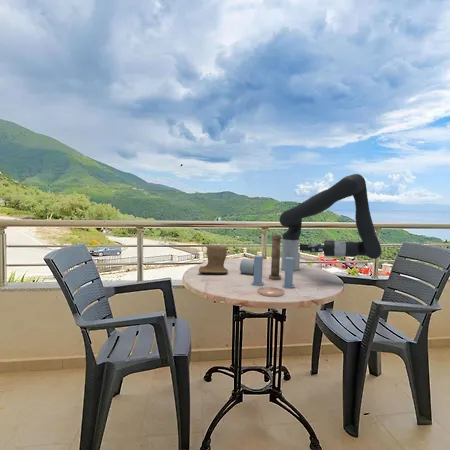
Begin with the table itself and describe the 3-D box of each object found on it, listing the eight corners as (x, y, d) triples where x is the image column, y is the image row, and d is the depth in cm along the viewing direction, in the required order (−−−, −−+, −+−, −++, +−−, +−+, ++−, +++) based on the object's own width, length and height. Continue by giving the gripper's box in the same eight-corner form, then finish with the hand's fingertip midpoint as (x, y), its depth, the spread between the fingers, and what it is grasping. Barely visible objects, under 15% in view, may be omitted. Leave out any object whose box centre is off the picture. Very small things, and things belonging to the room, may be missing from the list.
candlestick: (276, 276, 165) (277, 233, 163) (283, 279, 160) (284, 235, 158) (266, 277, 162) (268, 234, 161) (273, 280, 157) (275, 235, 156)
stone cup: (227, 270, 177) (227, 243, 176) (228, 275, 165) (229, 246, 164) (199, 270, 177) (199, 242, 176) (198, 275, 165) (199, 245, 164)
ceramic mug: (254, 276, 166) (254, 261, 165) (239, 274, 169) (239, 259, 169) (260, 272, 176) (261, 258, 175) (246, 270, 179) (246, 256, 178)
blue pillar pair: (294, 285, 149) (295, 257, 148) (294, 288, 144) (295, 259, 143) (253, 282, 153) (253, 254, 152) (251, 284, 148) (252, 256, 147)
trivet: (273, 288, 143) (273, 285, 143) (289, 294, 134) (289, 292, 133) (252, 290, 138) (252, 288, 138) (267, 297, 129) (267, 295, 128)
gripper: (333, 239, 160) (299, 238, 164) (336, 242, 147) (299, 240, 150) (332, 254, 161) (299, 252, 164) (336, 258, 147) (299, 256, 151)
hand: (299, 247), depth 157 cm, fingers open, 8 cm apart
